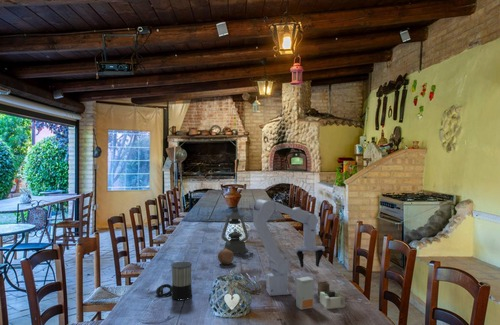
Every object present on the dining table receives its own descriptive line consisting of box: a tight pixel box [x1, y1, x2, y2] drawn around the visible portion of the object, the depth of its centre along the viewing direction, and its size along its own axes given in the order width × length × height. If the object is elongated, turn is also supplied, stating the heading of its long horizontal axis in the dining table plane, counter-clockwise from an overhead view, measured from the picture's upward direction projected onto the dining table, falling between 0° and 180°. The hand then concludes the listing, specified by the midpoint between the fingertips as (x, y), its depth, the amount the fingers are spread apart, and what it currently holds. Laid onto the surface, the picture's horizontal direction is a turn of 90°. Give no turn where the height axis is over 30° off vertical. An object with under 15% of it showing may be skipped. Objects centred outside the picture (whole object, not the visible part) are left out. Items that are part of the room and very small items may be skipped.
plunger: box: [323, 290, 336, 298], centre depth 164 cm, size 7×4×4 cm, turn 10°
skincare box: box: [295, 276, 315, 310], centre depth 159 cm, size 6×4×12 cm
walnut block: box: [317, 281, 331, 298], centre depth 171 cm, size 4×4×6 cm
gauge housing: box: [319, 290, 346, 310], centre depth 162 cm, size 8×8×4 cm
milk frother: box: [155, 261, 193, 301], centre depth 173 cm, size 14×16×15 cm
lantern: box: [221, 207, 249, 255], centre depth 257 cm, size 18×20×30 cm
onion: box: [217, 247, 235, 266], centre depth 224 cm, size 10×9×10 cm
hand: (309, 266), depth 183 cm, fingers open, 7 cm apart
